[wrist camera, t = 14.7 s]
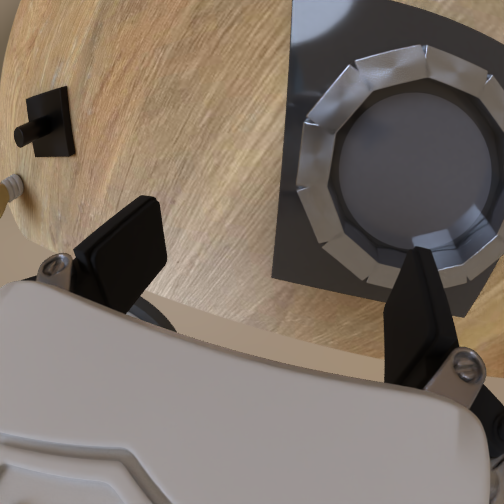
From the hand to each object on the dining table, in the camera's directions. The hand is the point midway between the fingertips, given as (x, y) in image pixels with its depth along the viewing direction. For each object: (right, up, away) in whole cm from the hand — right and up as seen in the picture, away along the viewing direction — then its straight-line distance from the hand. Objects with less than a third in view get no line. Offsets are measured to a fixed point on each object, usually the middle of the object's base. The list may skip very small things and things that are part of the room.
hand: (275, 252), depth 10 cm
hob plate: (+11, +6, +8) cm, 15 cm away
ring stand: (-24, +15, +15) cm, 32 cm away
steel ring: (+11, +5, +7) cm, 14 cm away
